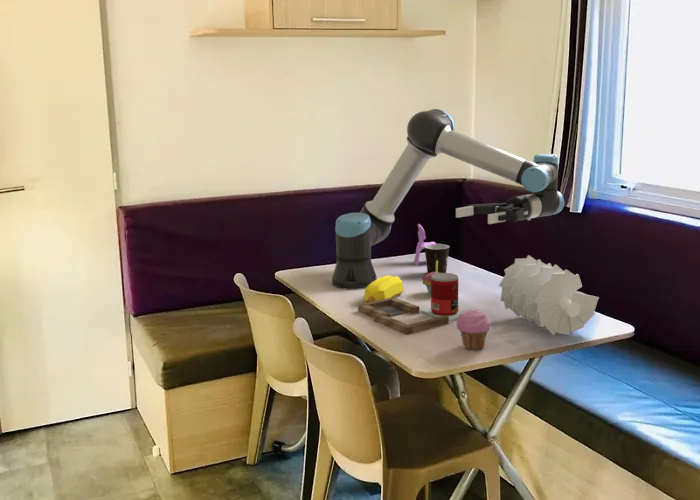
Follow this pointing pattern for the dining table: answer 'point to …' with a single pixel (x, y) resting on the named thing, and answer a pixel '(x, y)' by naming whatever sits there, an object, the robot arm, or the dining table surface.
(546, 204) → the robot arm
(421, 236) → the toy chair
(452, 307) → the canned food
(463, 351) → the dining table surface
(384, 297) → the yellow faceted block
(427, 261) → the coffee mug
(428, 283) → the cupcake
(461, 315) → the cupcake
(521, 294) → the spiral staircase
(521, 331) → the dining table surface
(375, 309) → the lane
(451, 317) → the pad
